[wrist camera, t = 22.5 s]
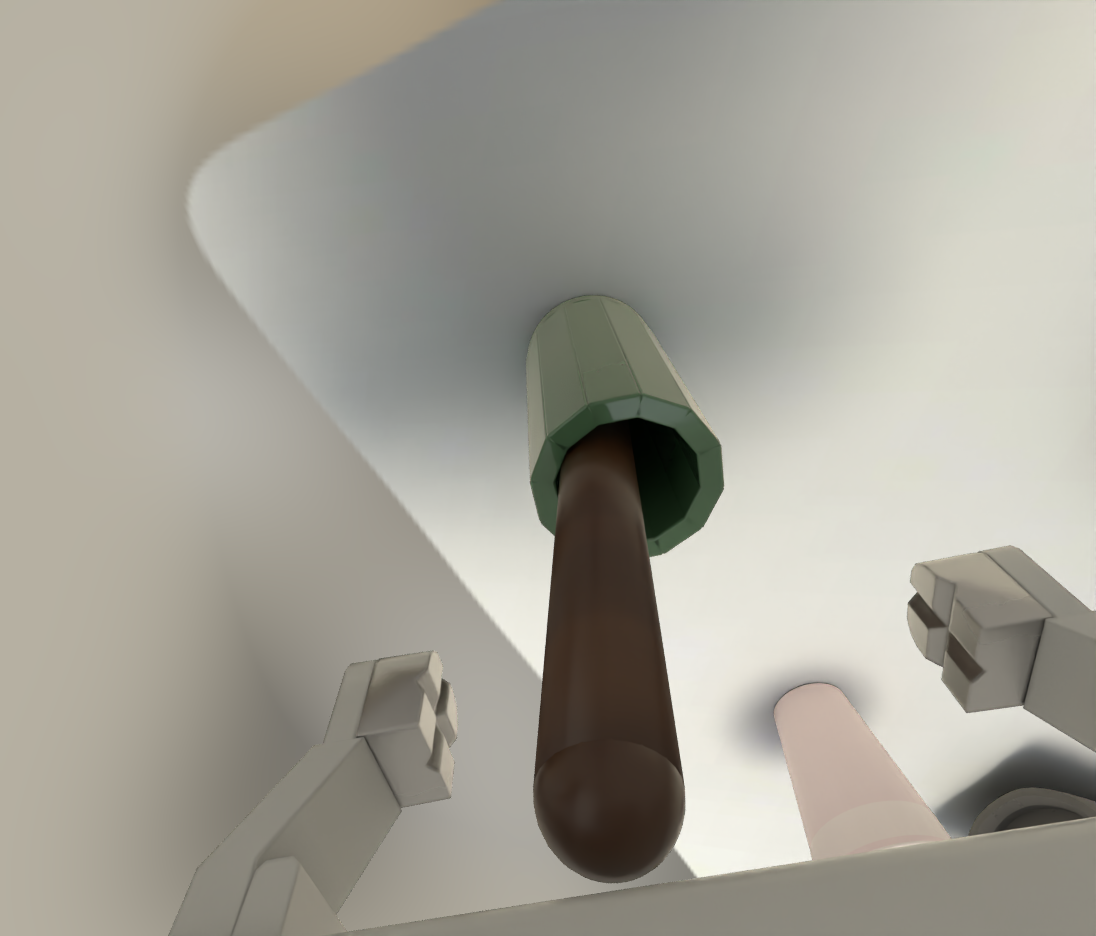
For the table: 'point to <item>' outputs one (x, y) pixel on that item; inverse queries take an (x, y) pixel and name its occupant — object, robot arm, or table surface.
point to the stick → (605, 678)
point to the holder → (619, 415)
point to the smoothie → (847, 778)
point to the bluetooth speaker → (1031, 810)
